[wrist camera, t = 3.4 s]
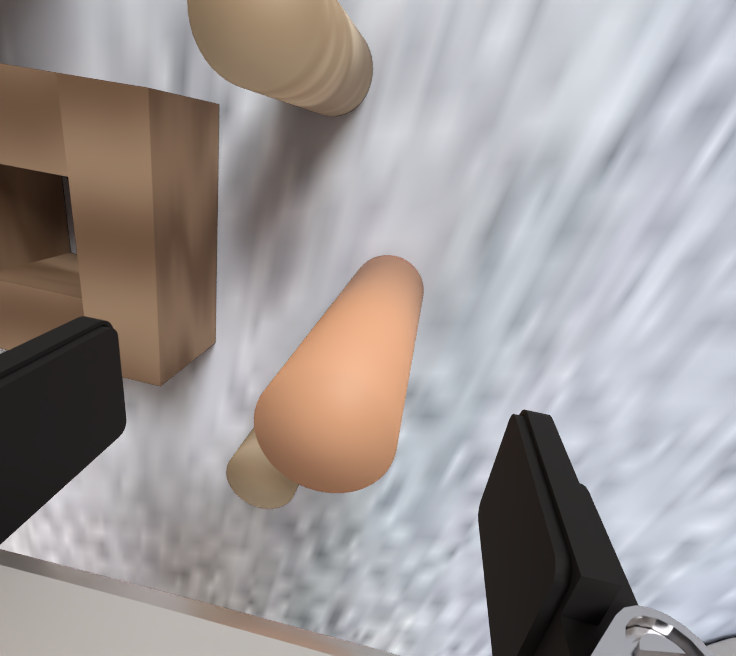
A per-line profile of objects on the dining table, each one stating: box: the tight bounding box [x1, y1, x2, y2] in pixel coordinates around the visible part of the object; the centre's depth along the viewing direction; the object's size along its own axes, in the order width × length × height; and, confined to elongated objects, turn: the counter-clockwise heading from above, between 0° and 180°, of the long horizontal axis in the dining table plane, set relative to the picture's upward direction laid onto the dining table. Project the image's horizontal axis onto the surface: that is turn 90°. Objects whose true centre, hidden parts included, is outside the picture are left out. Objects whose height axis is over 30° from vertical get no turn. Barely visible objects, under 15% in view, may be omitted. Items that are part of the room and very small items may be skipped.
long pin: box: [254, 255, 424, 493], centre depth 16 cm, size 4×4×12 cm
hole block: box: [0, 63, 219, 386], centre depth 20 cm, size 12×12×5 cm
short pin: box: [226, 428, 299, 509], centre depth 23 cm, size 4×4×5 cm
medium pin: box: [187, 0, 373, 116], centre depth 14 cm, size 4×4×8 cm
